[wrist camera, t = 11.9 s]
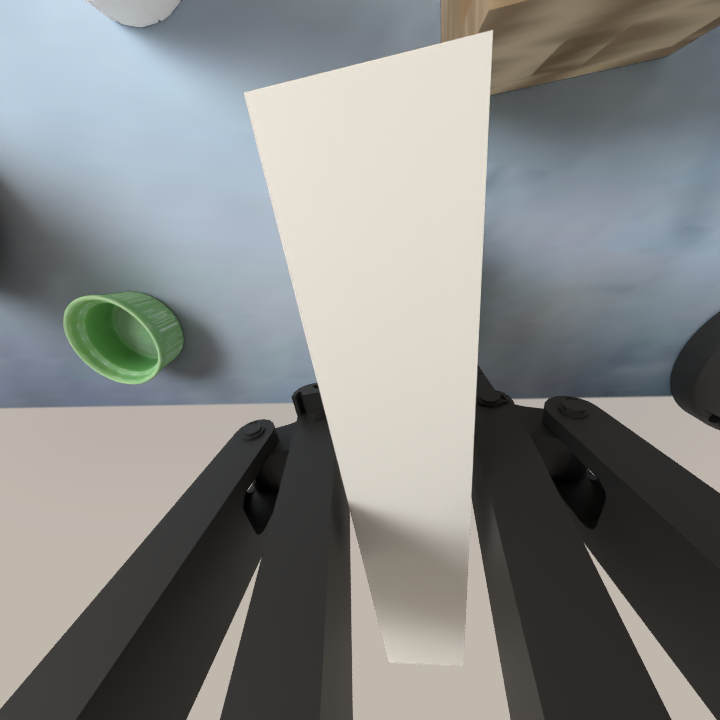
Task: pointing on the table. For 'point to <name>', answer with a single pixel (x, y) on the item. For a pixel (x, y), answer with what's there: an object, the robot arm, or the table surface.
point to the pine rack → (574, 34)
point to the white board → (392, 307)
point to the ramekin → (123, 335)
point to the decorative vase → (136, 10)
